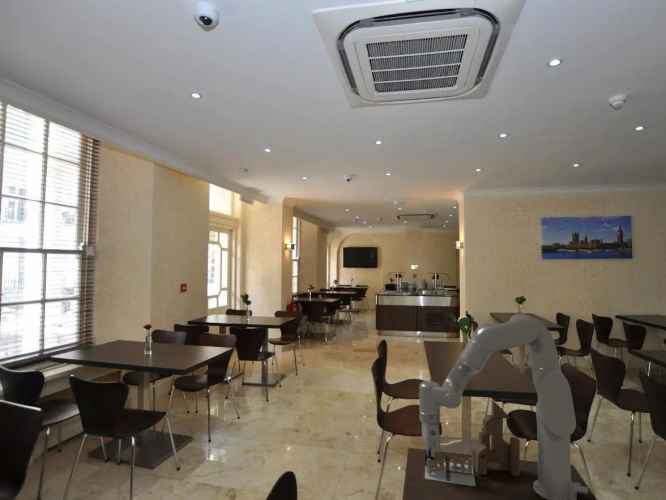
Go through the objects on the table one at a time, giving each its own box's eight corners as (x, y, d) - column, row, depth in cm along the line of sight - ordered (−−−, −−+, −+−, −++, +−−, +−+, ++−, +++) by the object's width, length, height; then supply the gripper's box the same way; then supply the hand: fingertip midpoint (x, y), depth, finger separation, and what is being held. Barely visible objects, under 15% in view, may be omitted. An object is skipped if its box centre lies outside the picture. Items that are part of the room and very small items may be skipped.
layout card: (472, 465, 146) (472, 464, 146) (475, 486, 132) (475, 485, 132) (425, 459, 150) (425, 458, 150) (424, 479, 137) (424, 478, 137)
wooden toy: (477, 475, 139) (478, 404, 140) (471, 465, 145) (472, 398, 146) (521, 477, 138) (521, 406, 139) (513, 467, 145) (513, 399, 146)
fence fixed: (471, 474, 140) (471, 458, 140) (471, 476, 139) (471, 459, 139) (450, 471, 142) (450, 455, 142) (450, 473, 141) (450, 457, 141)
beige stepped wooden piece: (448, 469, 142) (448, 454, 142) (450, 471, 141) (450, 456, 141) (426, 473, 139) (426, 458, 140) (428, 475, 138) (428, 460, 138)
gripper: (445, 425, 136) (445, 478, 135) (435, 409, 151) (435, 456, 150) (423, 424, 136) (423, 477, 135) (416, 408, 151) (416, 456, 150)
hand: (430, 466), depth 143 cm, fingers closed
